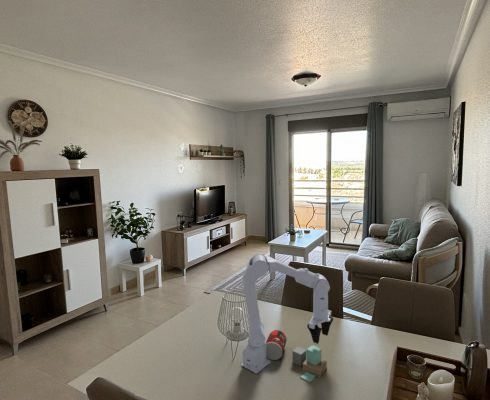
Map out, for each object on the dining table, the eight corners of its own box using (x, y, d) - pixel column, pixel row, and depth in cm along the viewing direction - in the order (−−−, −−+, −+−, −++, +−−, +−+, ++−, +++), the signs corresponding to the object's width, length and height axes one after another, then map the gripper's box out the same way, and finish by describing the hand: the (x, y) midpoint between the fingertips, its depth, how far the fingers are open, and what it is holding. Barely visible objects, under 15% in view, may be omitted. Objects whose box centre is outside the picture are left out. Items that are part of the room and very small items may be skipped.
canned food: (289, 344, 138) (284, 358, 128) (272, 347, 141) (267, 362, 131) (283, 327, 138) (278, 340, 128) (266, 331, 141) (260, 344, 131)
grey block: (300, 366, 125) (300, 354, 125) (292, 362, 128) (292, 350, 128) (306, 361, 128) (306, 350, 128) (297, 357, 131) (297, 346, 131)
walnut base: (320, 378, 119) (320, 369, 118) (302, 372, 122) (302, 363, 122) (326, 368, 124) (326, 360, 124) (309, 362, 128) (309, 354, 128)
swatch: (309, 382, 116) (309, 381, 116) (300, 377, 119) (300, 376, 119) (315, 376, 119) (315, 375, 119) (306, 372, 122) (306, 371, 122)
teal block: (306, 361, 124) (306, 348, 123) (312, 356, 126) (312, 344, 126) (315, 365, 121) (315, 353, 120) (321, 361, 123) (321, 349, 123)
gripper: (320, 315, 118) (320, 350, 119) (338, 302, 128) (338, 334, 130) (304, 310, 122) (304, 343, 124) (322, 298, 133) (322, 328, 134)
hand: (320, 338), depth 127 cm, fingers open, 7 cm apart
